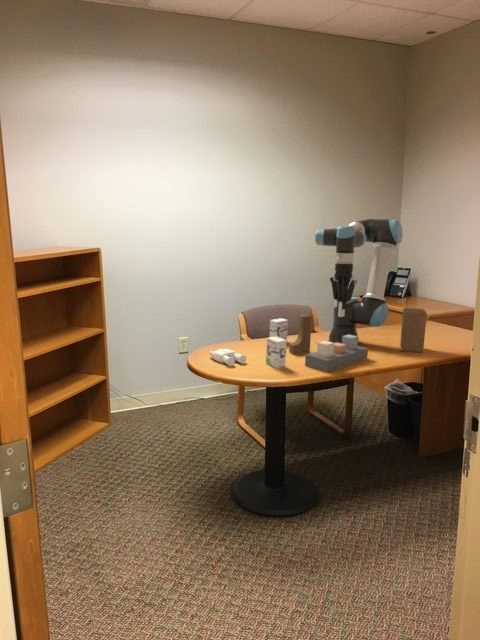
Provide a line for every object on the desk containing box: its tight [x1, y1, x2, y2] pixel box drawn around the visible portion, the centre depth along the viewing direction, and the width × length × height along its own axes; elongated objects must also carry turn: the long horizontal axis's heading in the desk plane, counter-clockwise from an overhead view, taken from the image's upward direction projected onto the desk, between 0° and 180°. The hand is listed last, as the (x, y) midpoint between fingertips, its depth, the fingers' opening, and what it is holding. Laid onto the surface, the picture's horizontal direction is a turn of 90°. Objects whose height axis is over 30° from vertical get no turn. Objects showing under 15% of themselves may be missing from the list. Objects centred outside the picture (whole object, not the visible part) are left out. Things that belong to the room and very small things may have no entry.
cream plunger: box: [316, 340, 334, 358], centre depth 220 cm, size 5×5×7 cm
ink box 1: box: [269, 317, 289, 343], centre depth 260 cm, size 9×5×12 cm, turn 131°
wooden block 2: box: [399, 307, 428, 353], centre depth 249 cm, size 10×10×20 cm
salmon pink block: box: [334, 342, 346, 354], centre depth 227 cm, size 5×5×7 cm
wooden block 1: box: [288, 314, 312, 356], centre depth 240 cm, size 9×4×18 cm, turn 112°
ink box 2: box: [265, 336, 287, 369], centre depth 221 cm, size 9×5×12 cm, turn 32°
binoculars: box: [208, 348, 247, 367], centre depth 227 cm, size 10×16×5 cm, turn 36°
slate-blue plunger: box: [342, 335, 359, 350], centre depth 232 cm, size 5×5×7 cm
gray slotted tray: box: [304, 345, 369, 373], centre depth 227 cm, size 12×30×5 cm, turn 133°
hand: (341, 316), depth 224 cm, fingers closed
